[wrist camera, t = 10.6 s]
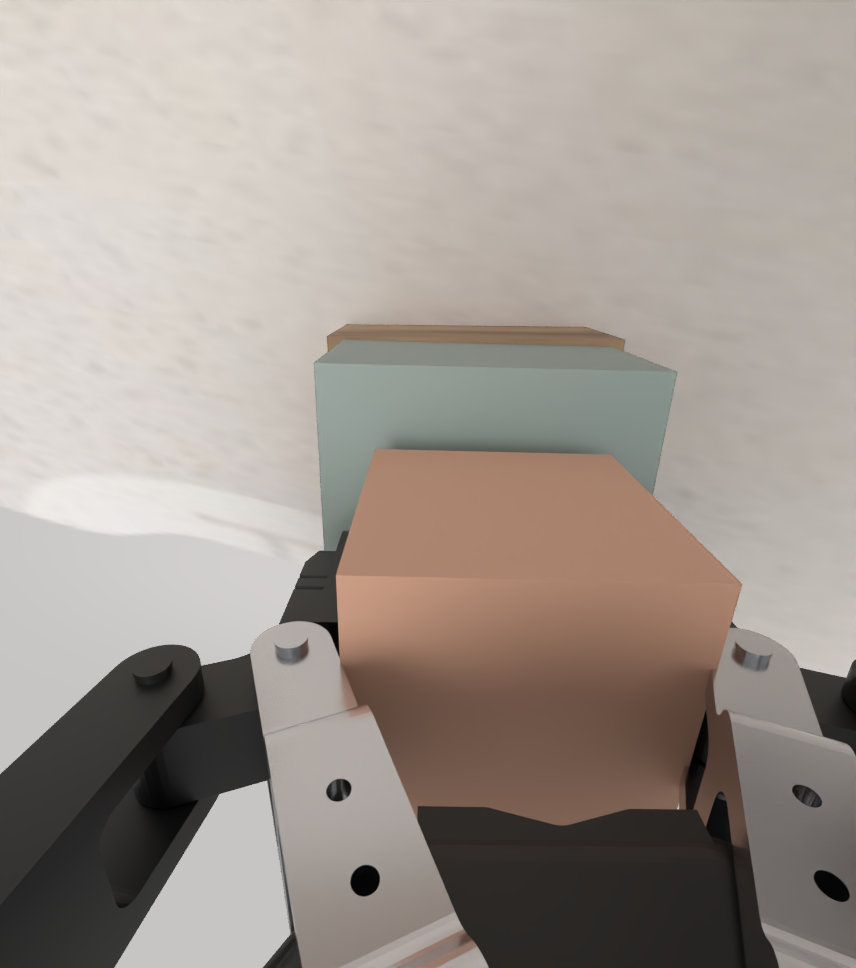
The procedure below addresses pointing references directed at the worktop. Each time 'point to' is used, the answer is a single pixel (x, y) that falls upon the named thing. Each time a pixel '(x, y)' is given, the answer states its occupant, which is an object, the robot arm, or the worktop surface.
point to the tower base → (476, 335)
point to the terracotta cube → (529, 631)
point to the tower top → (481, 408)
